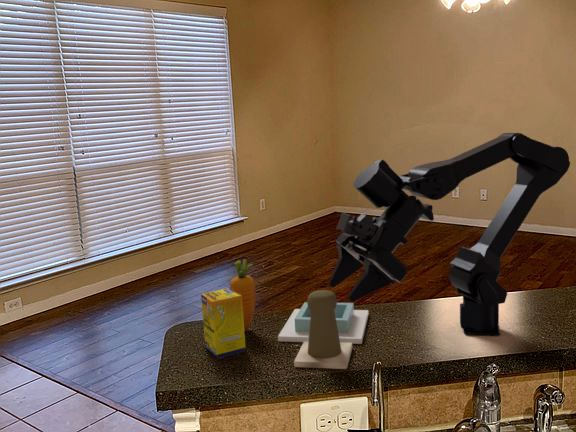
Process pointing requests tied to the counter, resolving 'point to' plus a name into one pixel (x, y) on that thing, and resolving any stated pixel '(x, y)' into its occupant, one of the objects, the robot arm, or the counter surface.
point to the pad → (335, 362)
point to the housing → (346, 318)
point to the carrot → (245, 291)
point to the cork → (323, 325)
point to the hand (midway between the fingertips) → (339, 292)
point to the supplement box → (223, 322)
